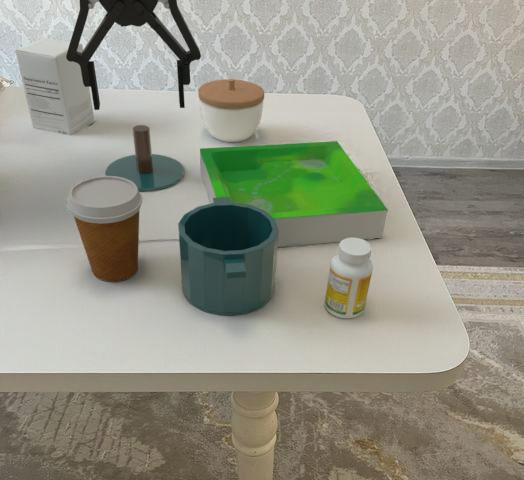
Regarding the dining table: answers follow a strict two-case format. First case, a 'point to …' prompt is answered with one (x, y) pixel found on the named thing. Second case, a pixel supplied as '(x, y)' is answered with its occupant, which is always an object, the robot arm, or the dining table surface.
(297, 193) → the tray
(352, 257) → the supplement bottle
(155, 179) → the lid
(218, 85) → the lidded bowl
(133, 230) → the disposable coffee cup
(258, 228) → the pot
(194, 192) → the dining table surface
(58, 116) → the rectangular carton
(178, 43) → the robot arm
